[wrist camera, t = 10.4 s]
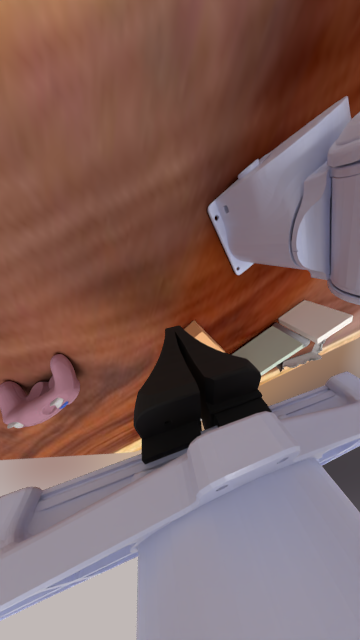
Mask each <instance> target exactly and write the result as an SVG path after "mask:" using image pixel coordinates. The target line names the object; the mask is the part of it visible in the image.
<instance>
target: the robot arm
mask: <svg viewBox="0 0 360 640" xmlns="http://www.w3.org/2000/svg"><path fill="white" fill-rule="evenodd" d="M208 214H209V216H210V218H211V220H212V223H213V225H214V227H215V229H216V232H217V234H218V236H219V238H220V241H221V243H222V245H223V247H224V250H225V252H226V254H227V256H228V259H229V261H230V263H231V265H232V268H233V270H234V272H235V274H236V275H240V274H241V273H243V272H244V271H245V270H246V269H248V268H249V267H250V266H251V265H253V264H254V263H258V264H266V265H273V266H281V267H289V268H296V269H304V270H308V271H309V272H310V273H311V277H313V278H319V279H324V280H327V284H328V288H329V289H330V291H331V292H332V293H333V294H334V295H335V296H337V297H338V298H340V299H342V300H345V301H347V302H350V303H354V304H358V305H360V112H359V113H358V114H357V115H356V116H354V117H353V118H352V119H351V115H350V109H349V102H348V97H347V96H346V97H344V98H342V99H341V100H339V101H338V102H336V103H335V104H333V105H332V106H331V107H329V108H328V109H327V110H325V111H324V112H322V113H321V114H320V115H318V116H317V117H316V118H315V119H313V120H312V121H311V122H309V123H308V124H307V125H305V126H304V127H303V128H301V129H300V130H299V131H297V132H296V133H295V134H293V135H292V136H291V137H289V138H288V139H287V140H285V141H284V142H283V143H282V144H280V145H279V146H278V147H276V148H275V149H274V150H272V151H271V152H270V153H268V154H266V155H265V156H263V157H262V158H261V159H260V160H258V159H256V160H255V161H254V162H253V163H251V164H250V165H249V166H248V167H247V168H246V169H244V170H243V171H242V172H241V173H240V174H239V175H238V180H237V181H235V182H234V183H233V184H232V185H231V186H230V187H229V188H228V189H227V190H225V191H224V192H223V193H222V194H221V195H220V196H219V197H218V198H216V199H215V200H214V201H213V202H212V203H211V204H210V205H209V206H208ZM215 216H217V221H216V220H215ZM237 267H238V269H237ZM260 379H261V373H260V371H259V370H258V369H257V368H256V367H255V366H254V365H253V364H252V363H251V362H250V361H249V360H248V359H246V358H242V357H238V356H234V355H230V354H227V353H224V352H221V351H219V350H216V349H214V348H212V347H209V346H207V345H206V344H204V343H202V342H200V341H199V340H197V339H196V338H194V337H193V336H191V335H190V334H189V333H188V332H186V331H185V330H184V329H183V328H182V327H181V326H175V327H171V328H166V329H165V340H164V344H163V348H162V351H161V354H160V357H159V359H158V361H157V363H156V365H155V367H154V369H153V371H152V373H151V374H150V376H149V378H148V379H147V381H146V382H145V383H144V385H143V386H142V387H141V389H140V390H139V392H138V395H137V399H136V404H135V410H134V427H135V429H136V431H137V432H138V434H139V435H140V437H141V439H142V454H139V455H137V456H134V457H131V458H128V459H126V460H123V461H121V462H118V463H115V464H112V465H110V466H107V467H104V468H102V469H99V470H96V471H93V472H91V473H88V474H85V475H83V476H80V477H77V478H75V479H72V480H69V481H66V482H64V483H61V484H58V485H56V486H53V487H51V488H48V489H45V490H41V489H40V488H37V487H27V488H23V489H20V490H17V491H15V492H12V493H9V494H6V495H4V496H1V497H0V621H1V620H3V619H5V618H7V617H9V616H11V615H13V614H15V613H18V612H20V611H22V610H24V609H25V608H28V607H30V606H32V605H34V604H36V603H39V602H40V601H43V600H45V599H47V598H49V597H51V596H53V595H56V594H58V593H60V592H62V591H64V590H66V589H68V588H71V587H73V586H75V585H77V584H79V583H81V582H83V581H85V580H88V579H90V578H92V577H94V576H96V575H98V574H101V573H103V572H105V571H107V570H109V569H111V568H114V567H116V566H118V565H120V564H122V563H124V562H127V561H129V560H131V559H133V558H135V557H137V556H138V589H137V640H360V512H359V511H358V510H357V509H356V508H355V506H354V505H353V504H352V503H351V501H350V500H349V499H348V498H347V497H346V495H345V494H344V493H343V492H342V490H341V489H340V488H339V487H338V486H337V484H336V483H335V482H334V481H333V479H332V478H331V477H330V476H329V475H328V473H327V472H326V471H325V470H324V469H323V467H322V465H324V464H326V463H327V462H329V461H331V460H333V459H335V458H337V457H339V456H341V455H343V454H345V453H347V452H349V451H350V450H353V449H354V448H356V447H358V446H360V379H359V378H358V377H356V376H354V375H353V374H351V373H349V372H343V373H340V374H337V375H335V376H332V377H331V378H330V379H328V381H327V382H326V384H325V386H322V387H319V388H316V389H314V390H311V391H308V392H306V393H303V394H300V395H298V396H295V397H293V398H290V399H287V400H284V401H282V402H279V403H276V404H274V405H271V406H267V404H266V403H265V402H264V400H263V399H262V398H261V397H262V394H261V393H260V392H259V390H258V386H259V383H260ZM201 419H202V422H203V426H204V429H205V430H204V431H202V429H201Z"/></svg>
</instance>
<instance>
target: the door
mask: <svg viewBox="0 0 360 640" xmlns="http://www.w3.org/2000/svg"><path fill="white" fill-rule="evenodd" d="M309 343H310V341H309V340H307V339H306V338H304V337H302V336H300V335H298V334H297V333H295V332H293V331H291V330H289V329H287V328H286V327H284V326H282V325H280V324H278V323H275V324H273V326H271V327H270V328H269V329H267V330H266V331H264V332H263V333H261V334H260V335H259V336H257V337H256V338H254V339H253V340H252V341H250V342H249V343H247V344H246V345H245V346H243V347H242V348H240V349H239V350H237V351H236V352H235V353H233V354H232V355H234V356H238V357H242V358H246V359H248V360H249V361H250V362H251V363H252V364H253V365H254V366H255V367H256V368H257V369H258V370H259V371H260V373H261V376H262V375H263V374H265V373H266V372H268V371H269V370H271V369H272V368H274V367H275V366H277V365H278V364H280V363H281V362H283V361H284V360H286V359H287V358H289V357H290V356H292V355H293V354H295V353H296V352H298V351H299V350H301V349H302V348H304V347H306V346H308V345H309Z"/></svg>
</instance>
